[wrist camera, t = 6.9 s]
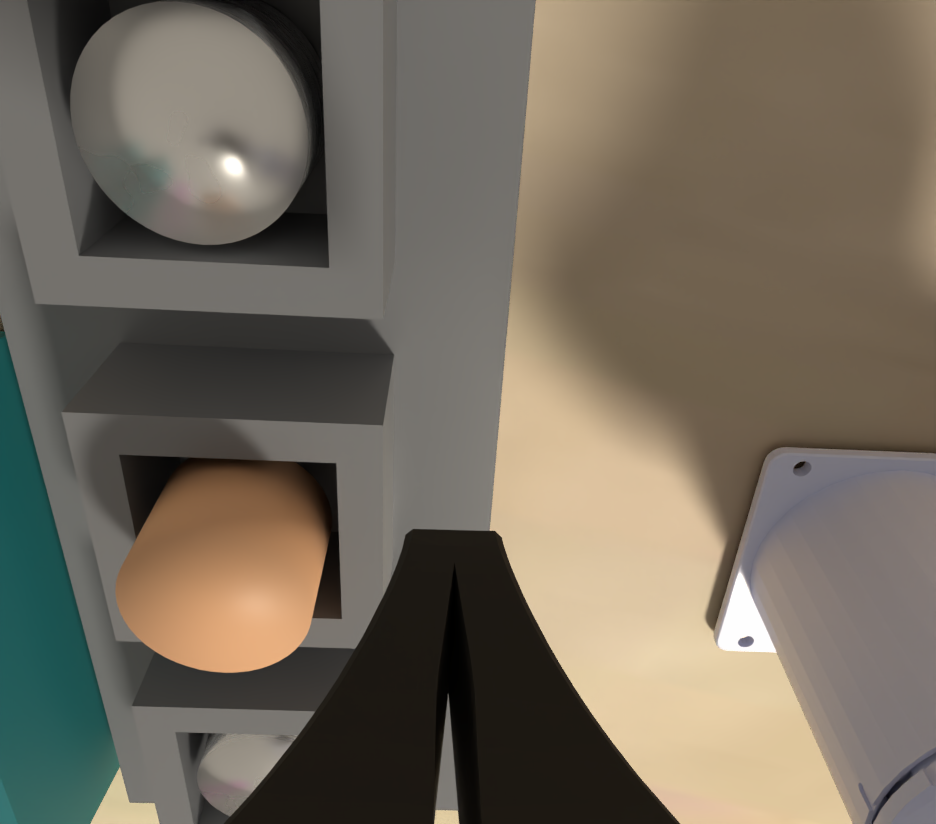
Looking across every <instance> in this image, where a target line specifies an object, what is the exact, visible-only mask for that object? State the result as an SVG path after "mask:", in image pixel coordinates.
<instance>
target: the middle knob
mask: <svg viewBox="0 0 936 824" xmlns="http://www.w3.org/2000/svg"><path fill="white" fill-rule="evenodd" d="M331 528H332V513H331V508H330V504H329V501H328V499H327V497H326V494H325V492H324V491H323V489H322V488H321V486H320V484H319V483H318V482H317V481H316V480H315V478H314V477H313V476H312V475H311V474H310V473H309V472H307V471H306V470H305V469H304V468H303V467H301V466H300V465H299V464H297V463H296V462H293V461H268V460H243V459H218V458H192V457H190V458H188V459H187V460H185V461H184V462H183V463H181V464H180V465H179V466H178V467H177V468H176V469H175V470H174V472H173V473H172V475H171V476H170V478H169V479H168V481H167V483H166V485H165V487H164V489H163V490H162V492H161V494H160V496H159V498H158V500H157V502H156V503H155V505H154V507H153V509H152V511H151V513H150V514H149V516H148V518H147V520H146V522H145V524H144V526H143V527H142V529H141V531H140V533H139V535H138V537H137V539H136V540H135V542H134V544H133V546H132V548H131V550H130V551H129V553H128V555H127V557H126V559H125V561H124V563H123V564H122V566H121V569H120V571H119V573H118V576H117V580H116V590H115V594H116V601H117V605H118V608H119V611H120V613H121V615H122V617H123V619H124V621H125V623H126V624H127V625H128V627H129V628H130V630H131V631H132V632H133V633H134V634H135V635H136V636H137V637H138V638H139V639H140V640H141V641H142V642H143V643H144V644H145V645H147V646H148V647H150V648H151V649H152V650H154V651H155V652H157V653H159V654H160V655H162V656H164V657H166V658H168V659H170V660H172V661H174V662H177V663H179V664H182V665H185V666H188V667H192V668H195V669H199V670H205V671H211V672H223V673H235V672H246V671H252V670H256V669H261V668H264V667H267V666H270V665H272V664H274V663H276V662H279V661H280V660H282V659H284V658H285V657H287V656H288V655H290V654H291V653H292V652H293V651H294V650H296V649H297V647H298V646H299V645H300V644H301V643H302V642H303V640H304V638H305V637H306V635H307V633H308V631H309V628H310V625H311V620H312V616H313V611H314V607H315V602H316V597H317V593H318V588H319V584H320V579H321V574H322V570H323V565H324V561H325V556H326V552H327V547H328V542H329V538H330V533H331Z"/></svg>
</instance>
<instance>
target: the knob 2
mask: <svg viewBox="0 0 936 824" xmlns="http://www.w3.org/2000/svg"><path fill="white" fill-rule="evenodd" d="M297 736H298V735H262V734H225V733H210V734H209V737H208V740H207V743H206V746H205V749H204V753H203V756H202V759H201V762H200V765H199V768H198V772H197V783H198V786H199V789H200V791H201V793H202V795H203V796H204V797H205V799H206V800H207V801H208V802H209V803H210V804H211V805H212V806H214V807H215V808H216V809H218V810H219V811H221V812H222V813H224V814H226V815H228V816H231V815H232V814H233V813H234V812H235V811H236V810H237V809H238V808H239V806H240V805H241V804H242V803H243V802H244V801H245V800H246V799H247V798H248V797H249V795H250V794H251V793H252V792H253V791H254V790H255V788H256V787H257V786H258V785H259V784H260V783H261V781H262V780H263V779H264V778H265V777H266V775H267V774H268V773H269V772H270V770H271V769H272V768H273V767H274V765H275V764H276V763H277V762H278V760H279V759H280V758H281V757H282V755H283V754H284V753H285V751H286V750H287V749H288V748H289V746H290V745H291V744H292V743H293V741H294V740H295V739H296V738H297Z"/></svg>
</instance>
